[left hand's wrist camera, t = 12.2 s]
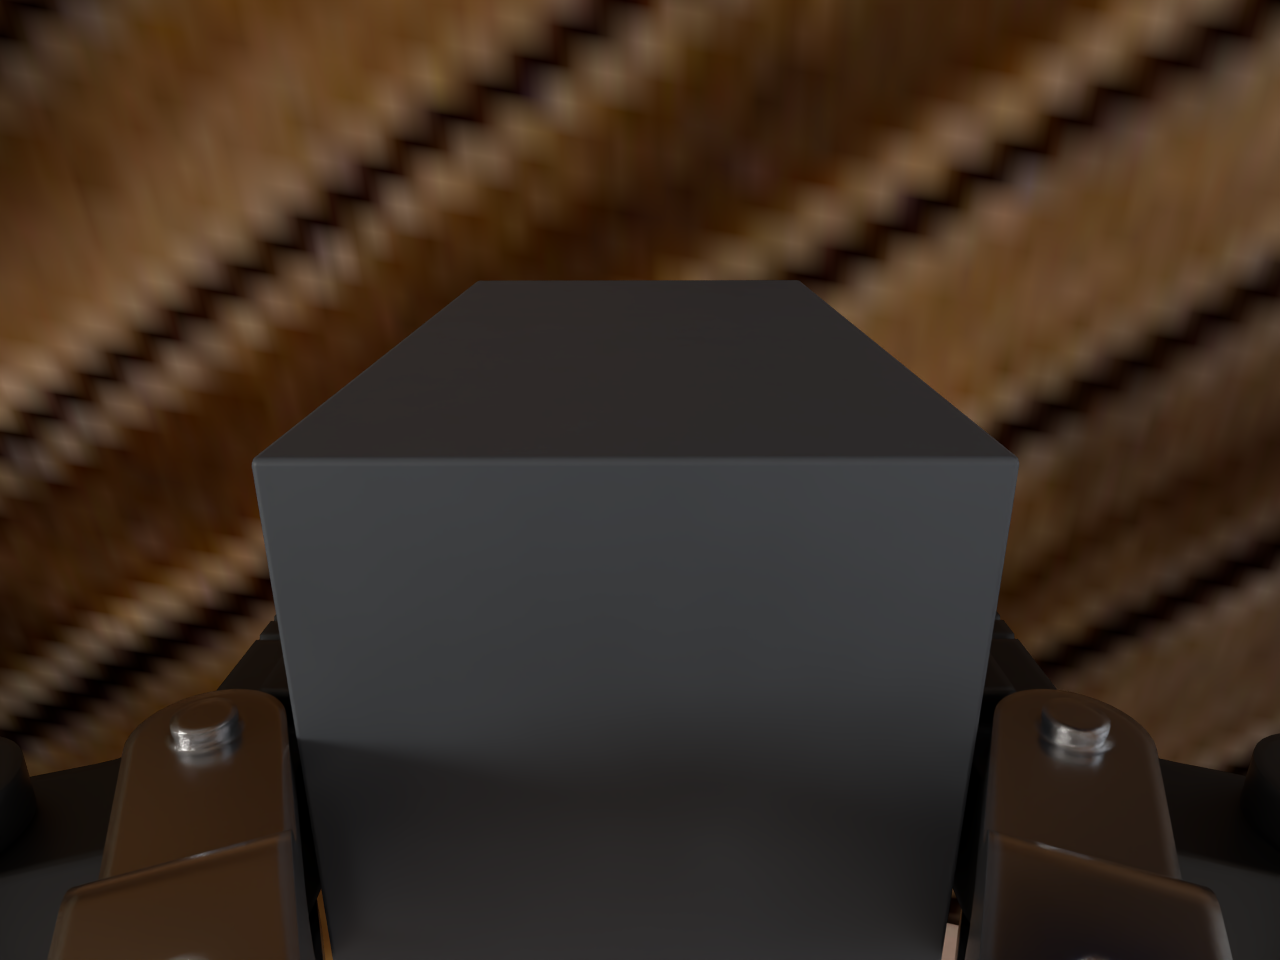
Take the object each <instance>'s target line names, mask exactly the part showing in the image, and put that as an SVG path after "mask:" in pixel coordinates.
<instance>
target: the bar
mask: <svg viewBox="0 0 1280 960" xmlns="http://www.w3.org/2000/svg"><path fill="white" fill-rule="evenodd" d="M1018 468H1019V461H1018V458H1017V457H1016V456H1015V455H1014V454H1012V453H1011V452H1010V451H1009V450H1007V449H1006V448H1005V447H1004V446H1003V445H1001V444H1000V443H999V442H998V441H996V440H995V439H994V438H993V437H991V436H990V435H989V434H988V433H986V432H985V431H984V430H983V429H982V428H980V427H979V426H978V425H977V424H975V423H974V422H973V421H972V420H970V419H969V418H968V417H967V416H965V415H964V414H963V413H962V412H961V411H959V410H958V409H957V408H956V407H954V406H953V405H952V404H951V403H949V402H948V401H947V400H946V399H944V398H943V397H942V396H941V395H939V394H938V393H937V392H936V391H935V390H933V389H932V388H931V387H930V386H928V385H927V384H926V383H925V382H923V381H922V380H921V379H920V378H918V377H917V376H916V375H915V374H914V373H912V372H911V371H910V370H909V369H907V368H906V367H905V366H904V365H902V364H901V363H900V362H899V361H897V360H896V359H895V358H894V357H893V356H891V355H890V354H889V353H888V352H886V351H885V350H884V349H883V348H881V347H880V346H879V345H878V344H876V343H875V342H874V341H873V340H872V339H870V338H869V337H868V336H867V335H865V334H864V333H863V332H862V331H860V330H859V329H858V328H857V327H855V326H854V325H853V324H852V323H851V322H849V321H848V320H847V319H846V318H844V317H843V316H842V315H841V314H839V313H838V312H837V311H836V310H834V309H833V308H832V307H831V306H830V305H828V304H827V303H826V302H825V301H823V300H822V299H821V298H820V297H818V296H817V295H816V294H815V293H813V292H812V291H811V290H810V289H809V288H807V287H806V286H805V285H804V284H802V283H801V282H800V281H798V280H719V281H478V282H476V283H475V284H474V285H473V286H471V287H470V288H469V289H468V290H466V291H465V292H464V293H462V294H461V295H460V296H459V297H457V298H456V299H455V300H454V301H452V302H451V303H450V304H449V305H447V306H446V307H445V308H443V309H442V310H441V311H440V312H438V313H437V314H436V315H435V316H433V317H432V318H431V319H430V320H428V321H427V322H426V323H425V324H423V325H422V326H421V327H419V328H418V329H417V330H416V331H414V332H413V333H412V334H411V335H409V336H408V337H407V338H406V339H404V340H403V341H402V342H400V343H399V344H398V345H397V346H395V347H394V348H393V349H392V350H390V351H389V352H388V353H387V354H385V355H384V356H383V357H381V358H380V359H379V360H378V361H376V362H375V363H374V364H373V365H371V366H370V367H369V368H368V369H366V370H365V371H364V372H363V373H361V374H360V375H359V376H357V377H356V378H355V379H354V380H352V381H351V382H350V383H349V384H347V385H346V386H345V387H344V388H342V389H341V390H340V391H338V392H337V393H336V394H335V395H333V396H332V397H331V398H330V399H328V400H327V401H326V402H325V403H323V404H322V405H321V406H319V407H318V408H317V409H316V410H314V411H313V412H312V413H311V414H309V415H308V416H307V417H306V418H304V419H303V420H302V421H301V422H299V423H298V424H297V425H295V426H294V427H293V428H292V429H290V430H289V431H288V432H287V433H285V434H284V435H283V436H282V437H280V438H279V439H278V440H276V441H275V442H274V443H273V444H271V445H270V446H269V447H268V448H266V449H265V450H264V451H263V452H261V453H260V454H259V455H257V456H256V457H255V458H254V459H253V462H252V469H253V475H254V481H255V487H256V493H257V500H258V506H259V512H260V518H261V524H262V530H263V536H264V542H265V548H266V554H267V560H268V566H269V573H270V579H271V585H272V591H273V597H274V603H275V609H276V615H277V621H278V627H279V633H280V639H281V646H282V652H283V658H284V664H285V670H286V676H287V682H288V688H289V694H290V700H291V706H292V713H293V719H294V725H295V731H296V737H297V743H298V749H299V755H300V761H301V767H302V773H303V779H304V786H305V792H306V798H307V804H308V810H309V816H310V822H311V828H312V834H313V840H314V846H315V852H316V859H317V865H318V871H319V877H320V883H321V889H322V895H323V901H324V907H325V913H326V919H327V926H328V932H329V938H330V944H331V950H332V956H333V960H941V959H942V952H943V946H944V940H945V933H946V927H947V920H948V914H949V908H950V901H951V895H952V889H953V882H954V876H955V870H956V863H957V857H958V850H959V844H960V838H961V831H962V825H963V819H964V812H965V806H966V799H967V793H968V787H969V780H970V774H971V768H972V761H973V755H974V748H975V742H976V736H977V729H978V723H979V717H980V710H981V704H982V697H983V691H984V685H985V678H986V672H987V666H988V659H989V653H990V646H991V640H992V634H993V627H994V621H995V615H996V608H997V602H998V595H999V589H1000V583H1001V576H1002V570H1003V564H1004V557H1005V551H1006V544H1007V538H1008V532H1009V525H1010V519H1011V513H1012V506H1013V500H1014V493H1015V487H1016V481H1017V474H1018Z"/></svg>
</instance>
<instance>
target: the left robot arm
mask: <svg viewBox="0 0 1280 960" xmlns="http://www.w3.org/2000/svg"><path fill="white" fill-rule="evenodd" d="M320 890H321V883H320V877H319V871H318V865H317V859H316V852H315V846H314V840H313V834H312V828H311V822H310V816H309V810H308V804H307V798H306V792H305V786H304V779H303V773H302V767H301V761H300V755H299V749H298V743H297V737H296V731H295V725H294V719H293V713H292V706H291V700H290V694H289V688H288V682H287V676H286V670H285V664H284V658H283V652H282V646H281V639H280V633H279V627H278V621H277V615H275V617H274V621H271V622H270V623H269V624H268V625H267V627H266V628H265V629H264V631H263V632H262V633H261V634H260V640H256V641H255V642H254V643H253V645H252V646H251V647H250V648H249V650H248V651H247V652H246V654H245V655H244V656H243V657H242V659H241V660H240V661H239V663H238V664H237V665H236V666H235V668H234V669H233V670H232V671H231V673H230V674H229V675H228V677H227V678H226V679H225V680H224V682H223V683H222V684H221V685H220V687H219V688H218V689H217V691H213V692H207V693H203V694H199V695H195V696H192V697H189V698H186V699H183V700H181V701H178V702H176V703H174V704H171V705H169V706H167V707H165V708H164V709H162V710H160V711H158V712H156V713H155V714H153V715H152V716H150V717H149V718H147V719H146V720H145V721H144V722H142V723H141V724H140V725H139V726H138V727H137V728H136V729H135V730H134V731H133V732H132V733H131V735H130V736H129V738H128V739H127V741H126V743H125V746H124V749H123V753H122V758H118V759H115V760H111V761H107V762H103V763H98V764H94V765H88V766H83V767H78V768H73V769H68V770H63V771H58V772H53V773H48V774H43V775H38V776H32V777H30V776H29V773H28V770H27V766H26V763H25V760H24V756H23V753H22V751H21V749H20V747H19V746H18V745H17V744H16V743H15V742H14V741H12V740H9V739H7V738H4V737H0V960H325V952H324V943H323V934H322V927H321V921H320V915H319V909H318V903H317V897H318V895H319V892H320ZM953 890H954V892H955V895H956V897H957V900H958V902H959V904H960V907H961V915H960V921H959V927H958V934H957V943H956V952H955V960H1280V734H1275V735H1271V736H1268V737H1266V738H1264V739H1262V740H1261V741H1260V742H1259V743H1257V745H1256V747H1255V749H1254V752H1253V755H1252V758H1251V762H1250V765H1249V769H1248V772H1247V776H1243V775H1238V774H1233V773H1228V772H1223V771H1218V770H1213V769H1208V768H1203V767H1198V766H1193V765H1187V764H1182V763H1177V762H1173V761H1168V760H1164V759H1160V758H1158V753H1157V749H1156V746H1155V743H1154V741H1153V739H1152V738H1151V736H1150V735H1149V733H1148V732H1147V731H1146V730H1145V729H1144V728H1143V727H1142V726H1141V725H1140V724H1139V723H1138V722H1136V721H1135V720H1134V719H1133V718H1131V717H1130V716H1128V715H1127V714H1125V713H1124V712H1122V711H1120V710H1118V709H1116V708H1115V707H1113V706H1111V705H1109V704H1106V703H1104V702H1102V701H1099V700H1097V699H1094V698H1091V697H1088V696H1085V695H1081V694H1077V693H1073V692H1067V691H1061V690H1057V689H1056V688H1055V686H1054V685H1053V684H1052V682H1051V681H1050V680H1049V679H1048V677H1047V676H1046V675H1045V673H1044V672H1043V671H1042V669H1041V668H1040V667H1039V666H1038V664H1037V663H1036V662H1035V660H1034V659H1033V658H1032V657H1031V655H1030V654H1029V653H1028V651H1027V650H1026V649H1025V648H1024V646H1023V645H1022V644H1021V642H1020V641H1019V640H1018V639H1014V633H1013V632H1012V631H1011V629H1010V628H1009V627H1008V626H1007V624H1006V623H1005V622H1004V620H1000V615H999V614H998V613H997V611H996V615H995V621H994V627H993V634H992V640H991V646H990V653H989V659H988V666H987V672H986V678H985V685H984V691H983V697H982V704H981V710H980V717H979V723H978V729H977V736H976V742H975V748H974V755H973V761H972V768H971V774H970V780H969V787H968V793H967V799H966V806H965V812H964V819H963V825H962V831H961V838H960V844H959V850H958V857H957V863H956V870H955V876H954V882H953Z"/></svg>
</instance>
